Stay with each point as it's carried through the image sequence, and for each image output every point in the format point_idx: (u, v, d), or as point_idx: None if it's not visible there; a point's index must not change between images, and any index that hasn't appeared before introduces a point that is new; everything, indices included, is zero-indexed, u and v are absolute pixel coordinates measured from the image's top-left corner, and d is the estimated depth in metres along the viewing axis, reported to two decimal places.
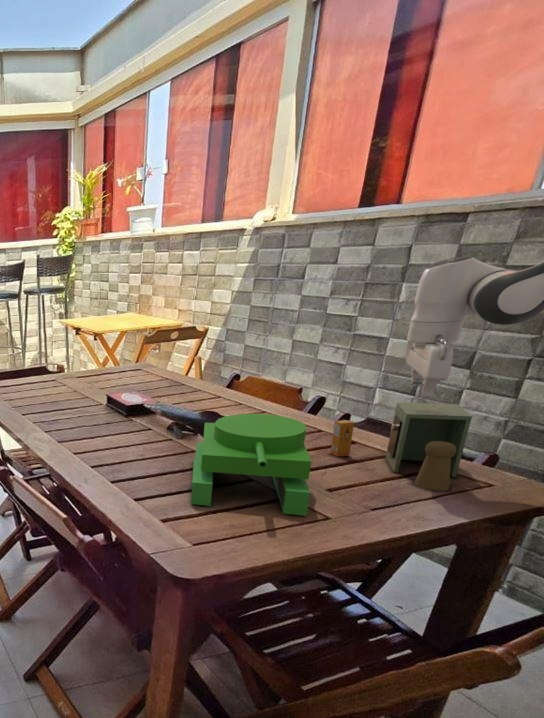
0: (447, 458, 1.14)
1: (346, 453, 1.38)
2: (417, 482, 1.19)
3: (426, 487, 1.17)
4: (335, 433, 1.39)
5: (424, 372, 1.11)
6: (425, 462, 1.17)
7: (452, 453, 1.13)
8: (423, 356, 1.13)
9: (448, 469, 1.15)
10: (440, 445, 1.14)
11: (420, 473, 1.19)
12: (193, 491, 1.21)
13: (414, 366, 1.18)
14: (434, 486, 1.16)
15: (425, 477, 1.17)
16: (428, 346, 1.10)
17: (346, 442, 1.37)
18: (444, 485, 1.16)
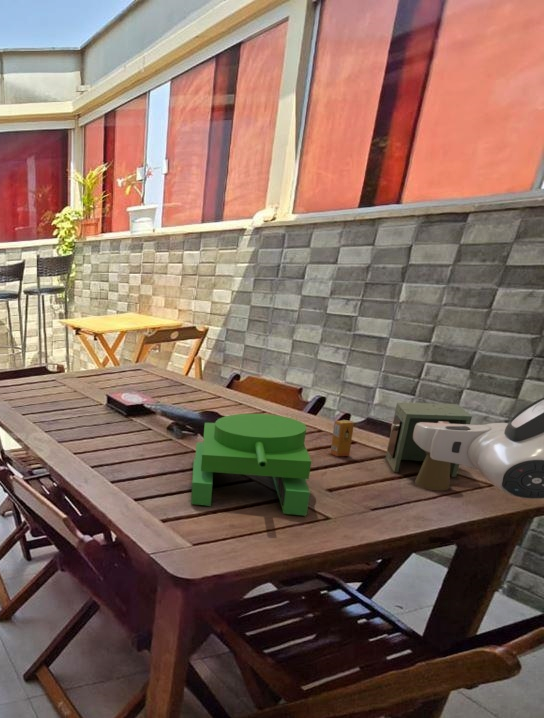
0: None
1: (346, 453, 1.38)
2: (417, 482, 1.19)
3: (426, 487, 1.17)
4: (335, 433, 1.39)
5: None
6: (425, 462, 1.17)
7: None
8: None
9: (448, 469, 1.15)
10: None
11: (420, 473, 1.19)
12: (193, 491, 1.21)
13: None
14: (434, 486, 1.16)
15: (425, 477, 1.17)
16: None
17: (346, 442, 1.37)
18: (444, 485, 1.16)
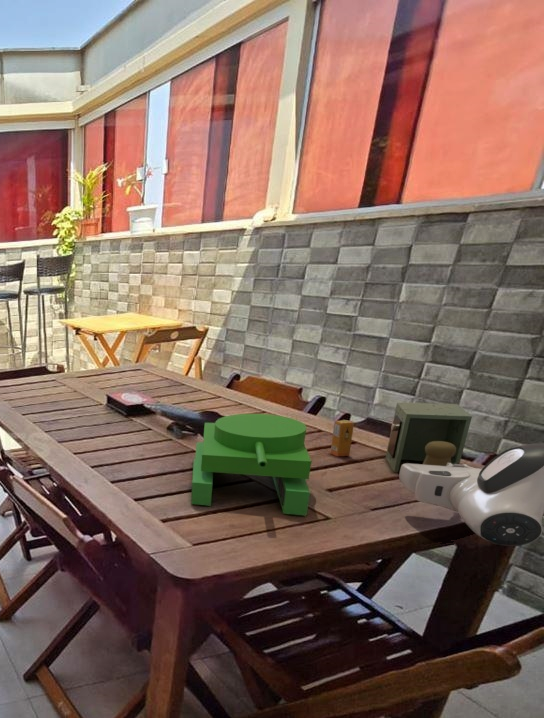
0: (447, 458, 1.14)
1: (346, 453, 1.38)
2: None
3: None
4: (335, 433, 1.39)
5: None
6: (425, 462, 1.17)
7: (452, 453, 1.13)
8: None
9: None
10: (440, 445, 1.14)
11: None
12: (193, 491, 1.21)
13: None
14: None
15: None
16: None
17: (346, 442, 1.37)
18: None
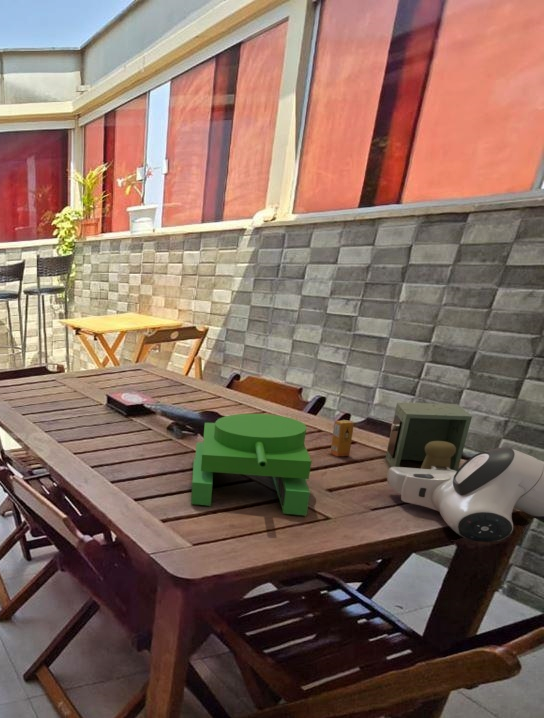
0: (447, 458, 1.14)
1: (346, 453, 1.38)
2: None
3: None
4: (335, 433, 1.39)
5: None
6: (425, 462, 1.17)
7: (452, 453, 1.13)
8: None
9: None
10: (440, 445, 1.14)
11: None
12: (193, 491, 1.21)
13: None
14: None
15: None
16: None
17: (346, 442, 1.37)
18: None
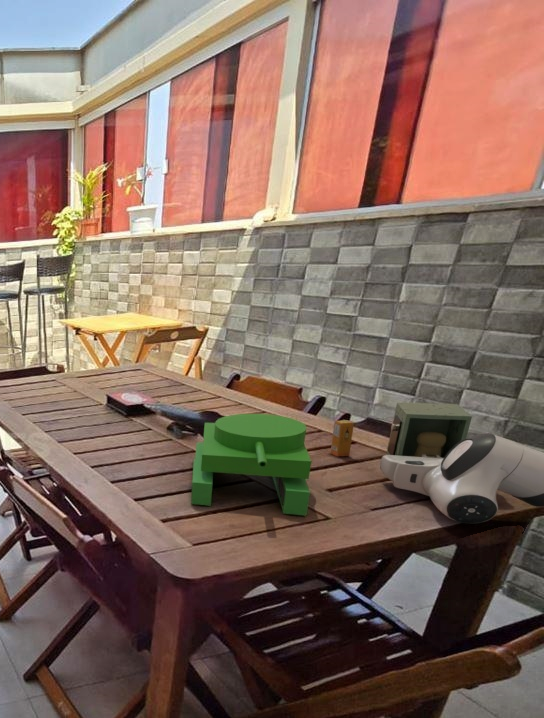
0: (436, 447, 1.20)
1: (346, 453, 1.38)
2: None
3: None
4: (335, 433, 1.39)
5: None
6: (416, 451, 1.23)
7: (441, 443, 1.19)
8: None
9: None
10: (430, 435, 1.20)
11: None
12: (193, 491, 1.21)
13: None
14: None
15: None
16: None
17: (346, 442, 1.37)
18: None
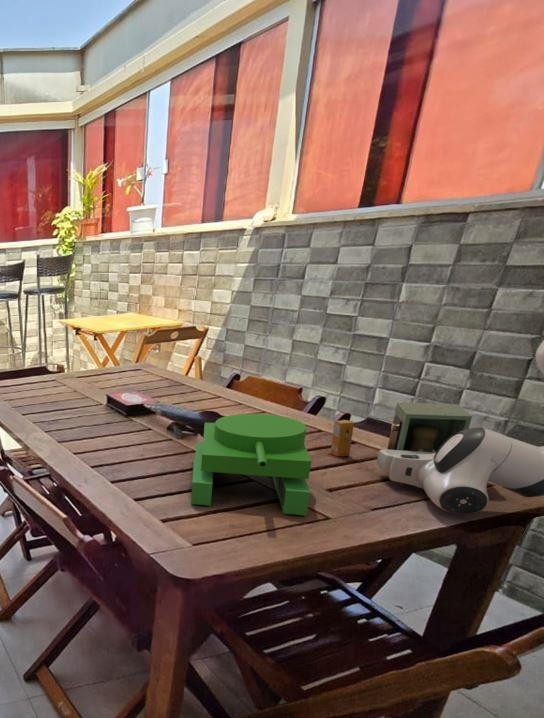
0: (430, 440, 1.24)
1: (346, 453, 1.38)
2: None
3: None
4: (335, 433, 1.39)
5: None
6: (411, 444, 1.28)
7: (434, 436, 1.23)
8: None
9: None
10: (424, 428, 1.24)
11: None
12: (193, 491, 1.21)
13: None
14: None
15: None
16: None
17: (346, 442, 1.37)
18: None
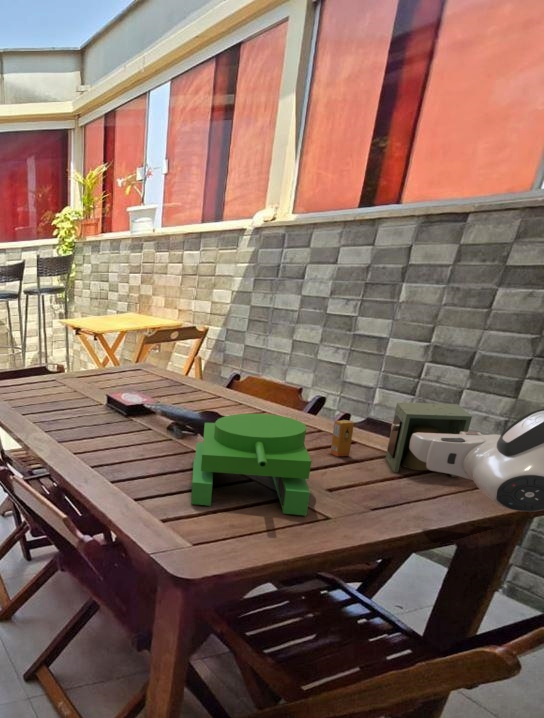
0: None
1: (346, 453, 1.38)
2: (403, 462, 1.30)
3: (410, 467, 1.28)
4: (335, 433, 1.39)
5: None
6: None
7: None
8: None
9: None
10: (424, 428, 1.24)
11: (406, 454, 1.29)
12: (193, 491, 1.21)
13: None
14: (417, 466, 1.27)
15: (410, 457, 1.28)
16: None
17: (346, 442, 1.37)
18: None
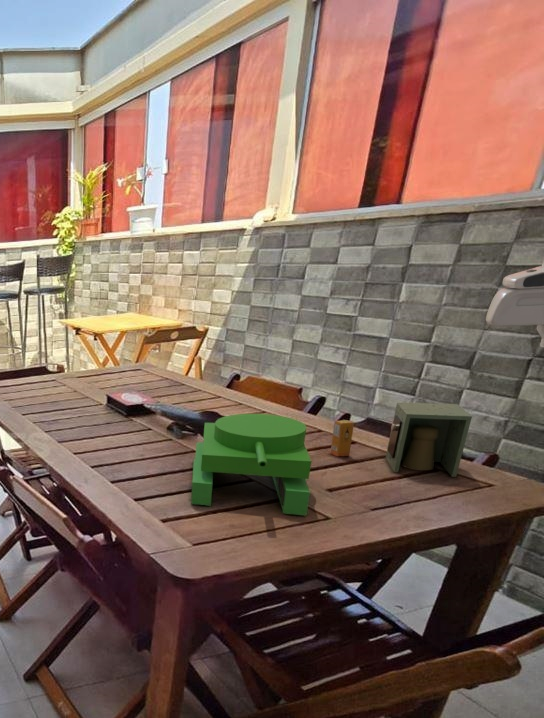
0: (430, 440, 1.24)
1: (346, 453, 1.38)
2: (403, 462, 1.30)
3: (410, 467, 1.28)
4: (335, 433, 1.39)
5: None
6: (411, 444, 1.28)
7: (434, 436, 1.23)
8: None
9: (431, 451, 1.25)
10: (424, 428, 1.24)
11: (406, 454, 1.29)
12: (193, 491, 1.21)
13: None
14: (417, 466, 1.27)
15: (410, 457, 1.28)
16: None
17: (346, 442, 1.37)
18: (427, 465, 1.26)
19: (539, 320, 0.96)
